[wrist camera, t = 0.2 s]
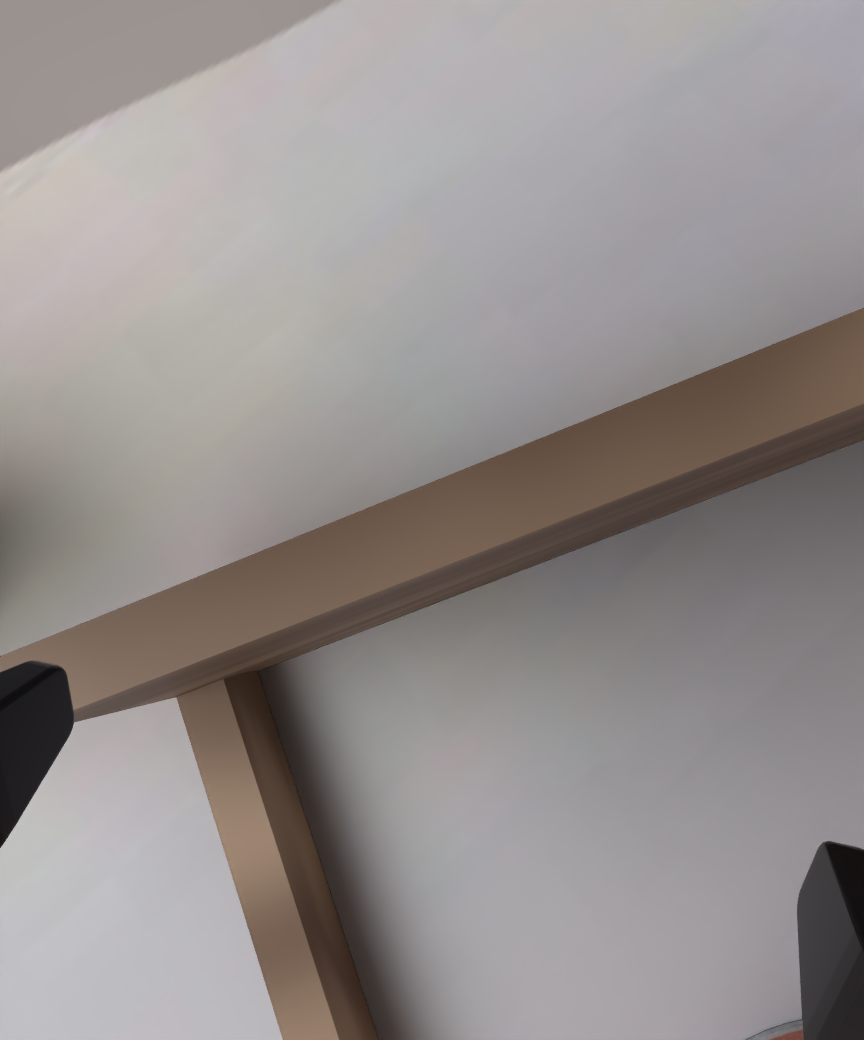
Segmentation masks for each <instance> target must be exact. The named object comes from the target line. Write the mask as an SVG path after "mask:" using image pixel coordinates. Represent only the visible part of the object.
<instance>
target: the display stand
mask: <svg viewBox="0 0 864 1040" xmlns="http://www.w3.org/2000/svg"><path fill="white" fill-rule="evenodd" d="M861 440H864V308H862V309H860V310H857V311H855V312H853V313H850V314H848V315H845V316H843V317H840V318H838V319H835V320H833V321H830V322H828V323H825V324H823V325H820V326H818V327H815V328H813V329H810V330H808V331H805V332H803V333H801V334H798V335H796V336H793V337H791V338H788V339H786V340H783V341H781V342H778V343H776V344H773V345H771V346H768V347H766V348H763V349H761V350H758V351H756V352H753V353H751V354H748V355H746V356H744V357H741V358H739V359H736V360H734V361H731V362H729V363H726V364H724V365H721V366H719V367H716V368H714V369H711V370H709V371H706V372H704V373H701V374H699V375H696V376H694V377H692V378H689V379H687V380H684V381H682V382H679V383H677V384H674V385H672V386H669V387H667V388H664V389H662V390H659V391H657V392H654V393H652V394H649V395H647V396H644V397H642V398H639V399H637V400H635V401H632V402H630V403H627V404H625V405H622V406H620V407H617V408H615V409H612V410H610V411H607V412H605V413H602V414H600V415H597V416H595V417H592V418H590V419H587V420H585V421H583V422H580V423H578V424H575V425H573V426H570V427H568V428H565V429H563V430H560V431H558V432H555V433H553V434H550V435H548V436H545V437H543V438H540V439H538V440H535V441H533V442H531V443H528V444H526V445H523V446H521V447H518V448H516V449H513V450H511V451H508V452H506V453H503V454H501V455H498V456H496V457H493V458H491V459H488V460H486V461H483V462H481V463H478V464H476V465H474V466H471V467H469V468H466V469H464V470H461V471H459V472H456V473H454V474H451V475H449V476H446V477H444V478H441V479H439V480H436V481H434V482H431V483H429V484H426V485H424V486H422V487H419V488H417V489H414V490H412V491H409V492H407V493H404V494H402V495H399V496H397V497H394V498H392V499H389V500H387V501H384V502H382V503H379V504H377V505H374V506H372V507H369V508H367V509H365V510H362V511H360V512H357V513H355V514H352V515H350V516H347V517H345V518H342V519H340V520H337V521H335V522H332V523H330V524H327V525H325V526H322V527H320V528H317V529H315V530H313V531H310V532H308V533H305V534H303V535H300V536H298V537H295V538H293V539H290V540H288V541H285V542H283V543H280V544H278V545H275V546H273V547H270V548H268V549H265V550H263V551H261V552H258V553H256V554H253V555H251V556H248V557H246V558H243V559H241V560H238V561H236V562H233V563H231V564H228V565H226V566H223V567H221V568H218V569H216V570H213V571H211V572H208V573H206V574H204V575H201V576H199V577H196V578H194V579H191V580H189V581H186V582H184V583H181V584H179V585H176V586H174V587H171V588H169V589H166V590H164V591H161V592H159V593H156V594H154V595H152V596H149V597H147V598H144V599H142V600H139V601H137V602H134V603H132V604H129V605H127V606H124V607H122V608H119V609H117V610H114V611H112V612H109V613H107V614H104V615H102V616H100V617H97V618H95V619H92V620H90V621H87V622H85V623H82V624H80V625H77V626H75V627H72V628H70V629H67V630H65V631H62V632H60V633H57V634H55V635H52V636H50V637H47V638H45V639H43V640H40V641H38V642H35V643H33V644H30V645H28V646H25V647H23V648H20V649H18V650H15V651H13V652H10V653H8V654H5V655H3V656H0V672H2V671H4V670H6V669H9V668H11V667H14V666H16V665H19V664H21V663H24V662H27V661H31V660H38V661H42V662H47V663H51V664H55V665H59V666H61V667H63V669H64V670H65V671H66V673H67V677H68V682H69V688H70V693H71V699H72V705H73V710H74V722H77V721H81V720H85V719H89V718H93V717H97V716H101V715H105V714H109V713H113V712H117V711H121V710H125V709H130V708H134V707H138V706H142V705H146V704H150V703H154V702H158V701H162V700H166V699H170V698H174V697H177V700H178V703H179V707H180V710H181V713H182V716H183V720H184V723H185V726H186V729H187V732H188V736H189V739H190V742H191V745H192V748H193V752H194V755H195V758H196V761H197V765H198V768H199V771H200V774H201V777H202V781H203V784H204V787H205V790H206V793H207V797H208V800H209V803H210V806H211V810H212V813H213V816H214V819H215V822H216V826H217V829H218V832H219V835H220V838H221V842H222V845H223V848H224V851H225V855H226V858H227V861H228V864H229V867H230V871H231V874H232V877H233V880H234V883H235V887H236V890H237V893H238V896H239V900H240V903H241V906H242V909H243V912H244V916H245V919H246V922H247V925H248V929H249V932H250V935H251V938H252V941H253V945H254V948H255V951H256V954H257V957H258V961H259V964H260V967H261V970H262V974H263V977H264V980H265V983H266V986H267V990H268V993H269V996H270V999H271V1002H272V1006H273V1009H274V1012H275V1015H276V1019H277V1022H278V1025H279V1028H280V1031H281V1035H282V1038H283V1040H379V1039H378V1036H377V1033H376V1030H375V1027H374V1024H373V1021H372V1018H371V1015H370V1012H369V1009H368V1006H367V1003H366V1000H365V996H364V993H363V990H362V987H361V984H360V981H359V978H358V975H357V972H356V969H355V966H354V963H353V960H352V957H351V954H350V951H349V948H348V945H347V942H346V939H345V936H344V933H343V930H342V926H341V923H340V920H339V917H338V914H337V911H336V908H335V905H334V902H333V899H332V896H331V893H330V890H329V887H328V884H327V881H326V878H325V875H324V872H323V869H322V866H321V863H320V859H319V856H318V853H317V850H316V847H315V844H314V841H313V838H312V835H311V832H310V829H309V826H308V823H307V820H306V817H305V814H304V811H303V808H302V805H301V802H300V799H299V796H298V793H297V789H296V786H295V783H294V780H293V777H292V774H291V771H290V768H289V765H288V762H287V759H286V756H285V753H284V750H283V747H282V744H281V741H280V738H279V735H278V732H277V729H276V726H275V722H274V719H273V716H272V713H271V710H270V707H269V704H268V701H267V698H266V695H265V692H264V689H263V686H262V683H261V680H260V677H259V674H258V671H260V670H262V669H265V668H267V667H270V666H273V665H275V664H278V663H280V662H283V661H286V660H288V659H291V658H294V657H296V656H299V655H301V654H304V653H307V652H309V651H312V650H314V649H317V648H320V647H322V646H325V645H328V644H330V643H333V642H335V641H338V640H341V639H343V638H346V637H348V636H351V635H354V634H356V633H359V632H362V631H364V630H367V629H369V628H372V627H375V626H377V625H380V624H382V623H385V622H388V621H390V620H393V619H396V618H398V617H401V616H403V615H406V614H409V613H411V612H414V611H416V610H419V609H422V608H424V607H427V606H430V605H432V604H435V603H437V602H440V601H443V600H445V599H448V598H450V597H453V596H456V595H458V594H461V593H464V592H466V591H469V590H471V589H474V588H477V587H479V586H482V585H485V584H487V583H490V582H492V581H495V580H498V579H500V578H503V577H505V576H508V575H511V574H513V573H516V572H519V571H521V570H524V569H526V568H529V567H532V566H534V565H537V564H539V563H542V562H545V561H547V560H550V559H553V558H555V557H558V556H560V555H563V554H566V553H568V552H571V551H573V550H576V549H579V548H581V547H584V546H587V545H589V544H592V543H594V542H597V541H600V540H602V539H605V538H607V537H610V536H613V535H615V534H618V533H621V532H623V531H626V530H628V529H631V528H634V527H636V526H639V525H641V524H644V523H647V522H649V521H652V520H655V519H657V518H660V517H662V516H665V515H668V514H670V513H673V512H676V511H678V510H681V509H683V508H686V507H689V506H691V505H694V504H696V503H699V502H702V501H704V500H707V499H710V498H712V497H715V496H717V495H720V494H723V493H725V492H728V491H730V490H733V489H736V488H738V487H741V486H744V485H746V484H749V483H751V482H754V481H757V480H759V479H762V478H764V477H767V476H770V475H772V474H775V473H778V472H780V471H783V470H785V469H788V468H791V467H793V466H796V465H798V464H801V463H804V462H806V461H809V460H812V459H814V458H817V457H819V456H822V455H825V454H827V453H830V452H832V451H835V450H838V449H840V448H843V447H846V446H848V445H851V444H853V443H856V442H859V441H861Z"/></svg>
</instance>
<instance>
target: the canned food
mask: <svg viewBox="0 0 864 1040" xmlns="http://www.w3.org/2000/svg"><path fill="white" fill-rule="evenodd" d="M747 1040H803V1025H802V1020H800V1021H795V1022H791V1023H787V1024H783V1025H781V1026H778V1027H775V1028H772V1029H769V1030H766V1031H764V1032H762V1033H760V1034H758V1035H756V1036H753V1037H751V1038H749V1039H747Z"/></svg>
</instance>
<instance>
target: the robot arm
mask: <svg viewBox="0 0 864 1040" xmlns="http://www.w3.org/2000/svg"><path fill="white" fill-rule="evenodd" d="M73 724H74V710H73V705H72V699H71V693H70V688H69V682H68V677H67V673H66V671H65V670H64V669H63V667H61V666H59V665H55V664H51V663H47V662H42V661H38V660H31V661H27V662H24V663H21V664H19V665H16V666H14V667H11V668H9V669H6V670H4V671H2V672H0V848H1V846H2V845H3V844H4V842H5V841H6V839H7V838H8V836H9V834H10V833H11V831H12V830H13V828H14V827H15V825H16V824H17V822H18V820H19V819H20V817H21V815H22V814H23V812H24V810H25V809H26V807H27V805H28V804H29V802H30V800H31V799H32V797H33V795H34V794H35V792H36V790H37V789H38V787H39V785H40V784H41V782H42V780H43V779H44V777H45V775H46V774H47V772H48V770H49V769H50V767H51V766H52V764H53V762H54V761H55V759H56V757H57V756H58V754H59V752H60V751H61V749H62V747H63V746H64V744H65V742H66V741H67V739H68V737H69V735H70V733H71V731H72V728H73ZM797 922H798V942H799V963H800V983H801V1004H802V1025H803V1040H864V850H863V849H861V848H858V847H854V846H849V845H845V844H840V843H836V842H832V841H827V842H823V843H822V844H821V845H820V846H819V848H818V850H817V852H816V854H815V857H814V859H813V861H812V864H811V866H810V868H809V871H808V873H807V875H806V878H805V880H804V882H803V885H802V887H801V890H800V893H799V897H798V904H797Z"/></svg>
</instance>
